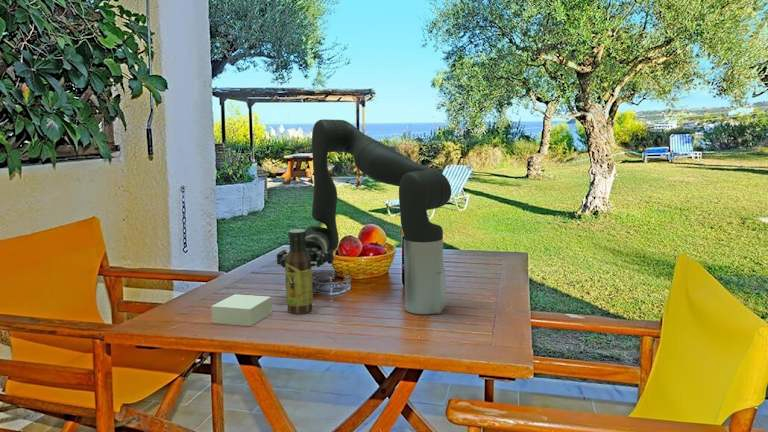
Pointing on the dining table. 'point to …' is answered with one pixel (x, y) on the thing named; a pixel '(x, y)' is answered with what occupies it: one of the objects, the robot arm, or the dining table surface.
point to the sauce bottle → (298, 274)
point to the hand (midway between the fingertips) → (300, 263)
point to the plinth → (241, 310)
